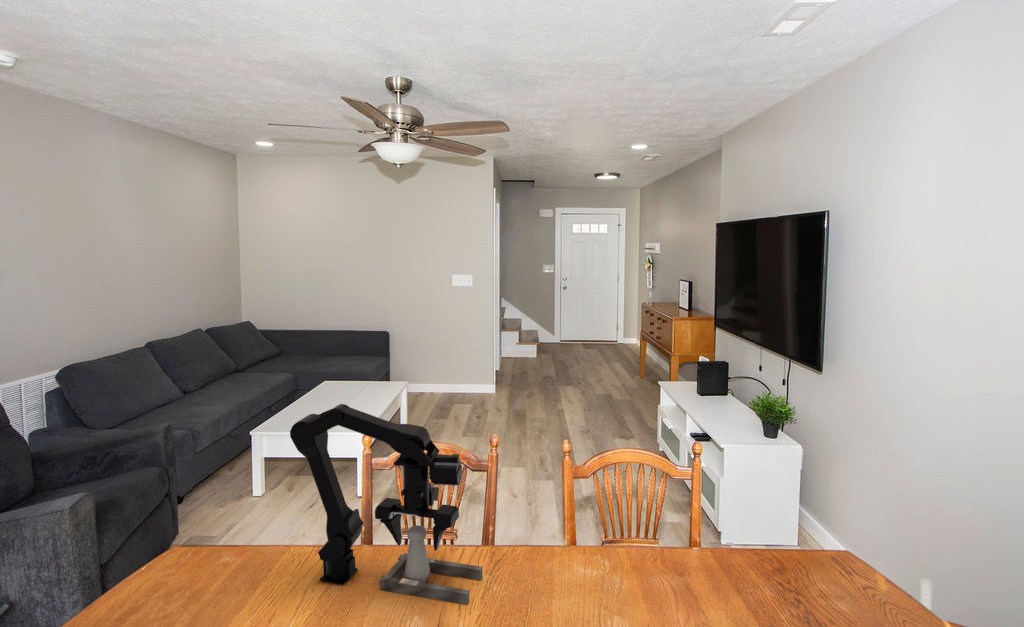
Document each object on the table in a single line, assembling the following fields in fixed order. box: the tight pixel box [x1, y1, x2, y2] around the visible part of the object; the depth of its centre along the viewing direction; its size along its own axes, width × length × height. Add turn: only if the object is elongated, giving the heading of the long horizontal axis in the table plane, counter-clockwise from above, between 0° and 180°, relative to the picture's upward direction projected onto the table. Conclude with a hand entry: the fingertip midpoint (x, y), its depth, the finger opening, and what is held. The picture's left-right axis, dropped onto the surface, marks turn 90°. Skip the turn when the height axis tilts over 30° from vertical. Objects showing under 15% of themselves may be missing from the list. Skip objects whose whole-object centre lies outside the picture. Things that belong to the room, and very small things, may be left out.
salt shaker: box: [404, 524, 431, 583], centre depth 133 cm, size 6×6×13 cm
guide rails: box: [378, 552, 483, 605], centre depth 133 cm, size 21×11×3 cm, turn 75°
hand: (417, 547), depth 133 cm, fingers open, 9 cm apart
